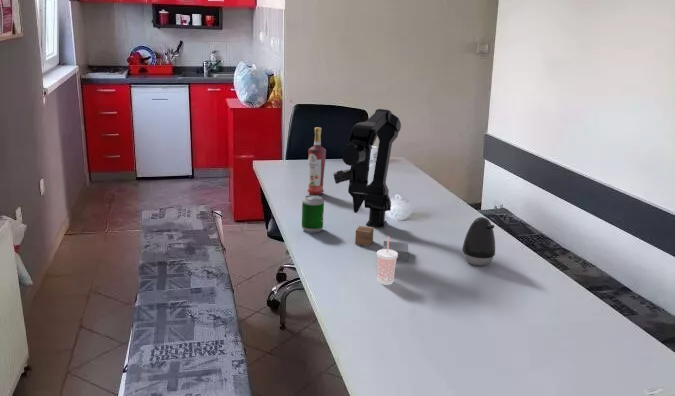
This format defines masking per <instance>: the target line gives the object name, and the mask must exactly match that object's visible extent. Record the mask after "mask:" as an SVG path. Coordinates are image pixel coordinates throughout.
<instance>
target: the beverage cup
mask: <svg viewBox="0 0 675 396" xmlns="http://www.w3.org/2000/svg"><path fill="white" fill-rule="evenodd" d="M386 241H387V249H383V248H382V249H379V250H377V251H376V256H377V276H376V277H377V283H379V284H380V285H382V286H383V285H385V286H389V285H393V283H394V279H395V278H394V277H395V271H396V265H397V260H396V259H397V257H398V253H397V252H396V251H394V250H390V249H389V241H390V236H389V235H388V236H387V240H386Z"/></svg>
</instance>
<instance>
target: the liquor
mask: <svg viewBox="0 0 675 396" xmlns="http://www.w3.org/2000/svg"><path fill="white" fill-rule="evenodd" d="M321 136H322V127H320V126H318V127H314V142H313V146H311V147H310V148H308V150H307V151H308V157H307V158H308V159H307V160H308V161H307V163H308V189H307V192H308V194H309V195H317V196H320V195H322V194H323V193H324V192H325V190H324V175H325V167H326V154H327V149H326V148H324V147H323V146H322V140H321V138H322V137H321Z"/></svg>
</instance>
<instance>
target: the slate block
mask: <svg viewBox="0 0 675 396" xmlns="http://www.w3.org/2000/svg"><path fill="white" fill-rule="evenodd" d="M387 241H388V240H384V241H383V244H382V245H383V246H382V247H383V248H382V249H387ZM389 249H390V250H394V251H396V252H397V253H398V257H397V259H396V261H402V262H408V258H409V242H406V241H405V242H402V241H393V240H392V241H391V240H389Z"/></svg>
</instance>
